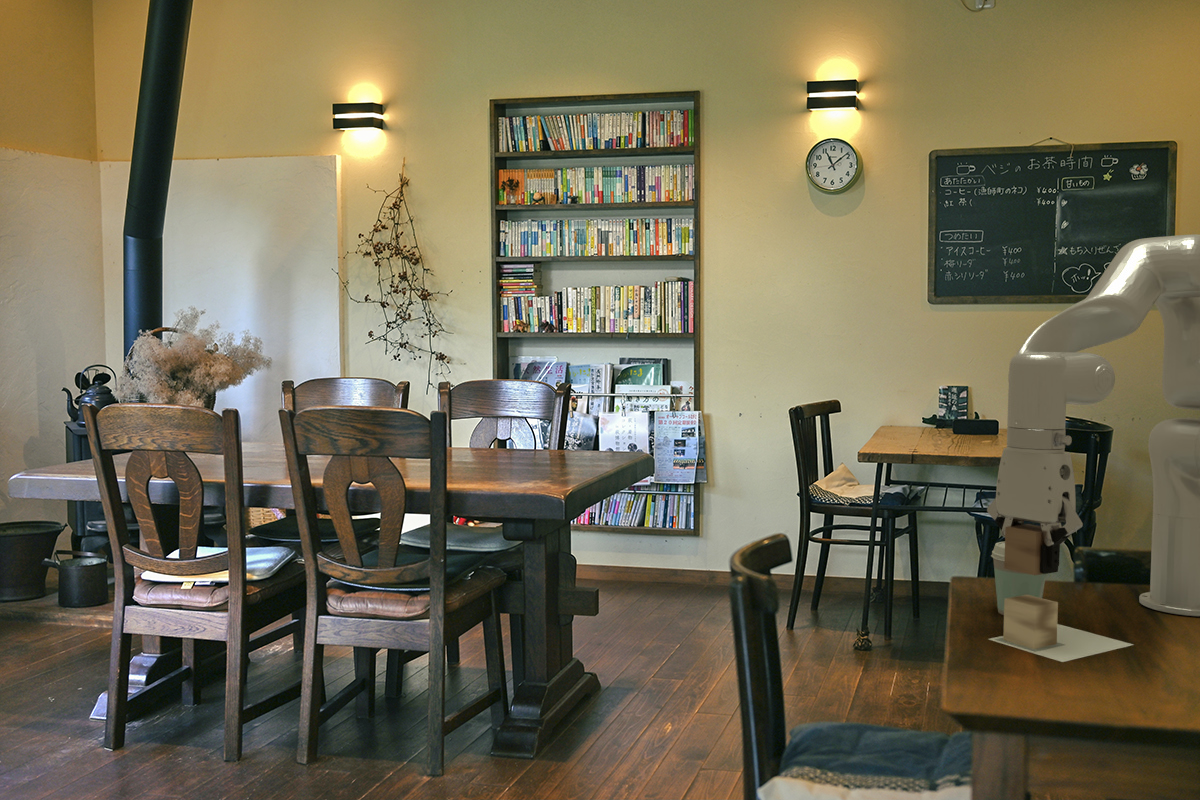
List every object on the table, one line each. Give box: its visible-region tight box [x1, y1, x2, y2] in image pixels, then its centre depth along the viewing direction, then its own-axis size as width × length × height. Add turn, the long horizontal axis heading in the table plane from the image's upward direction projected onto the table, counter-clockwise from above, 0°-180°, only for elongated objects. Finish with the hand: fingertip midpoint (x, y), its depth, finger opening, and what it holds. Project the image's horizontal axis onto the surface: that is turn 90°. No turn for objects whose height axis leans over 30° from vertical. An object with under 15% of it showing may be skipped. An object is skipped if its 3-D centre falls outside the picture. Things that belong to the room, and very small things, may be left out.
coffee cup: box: [990, 541, 1047, 616], centre depth 158 cm, size 8×9×12 cm
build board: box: [988, 623, 1134, 663], centre depth 143 cm, size 16×12×1 cm
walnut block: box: [1004, 523, 1059, 575], centre depth 142 cm, size 5×5×6 cm
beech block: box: [1002, 595, 1059, 649], centre depth 143 cm, size 5×5×6 cm
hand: (1031, 567), depth 142 cm, fingers closed on walnut block, 5 cm apart
